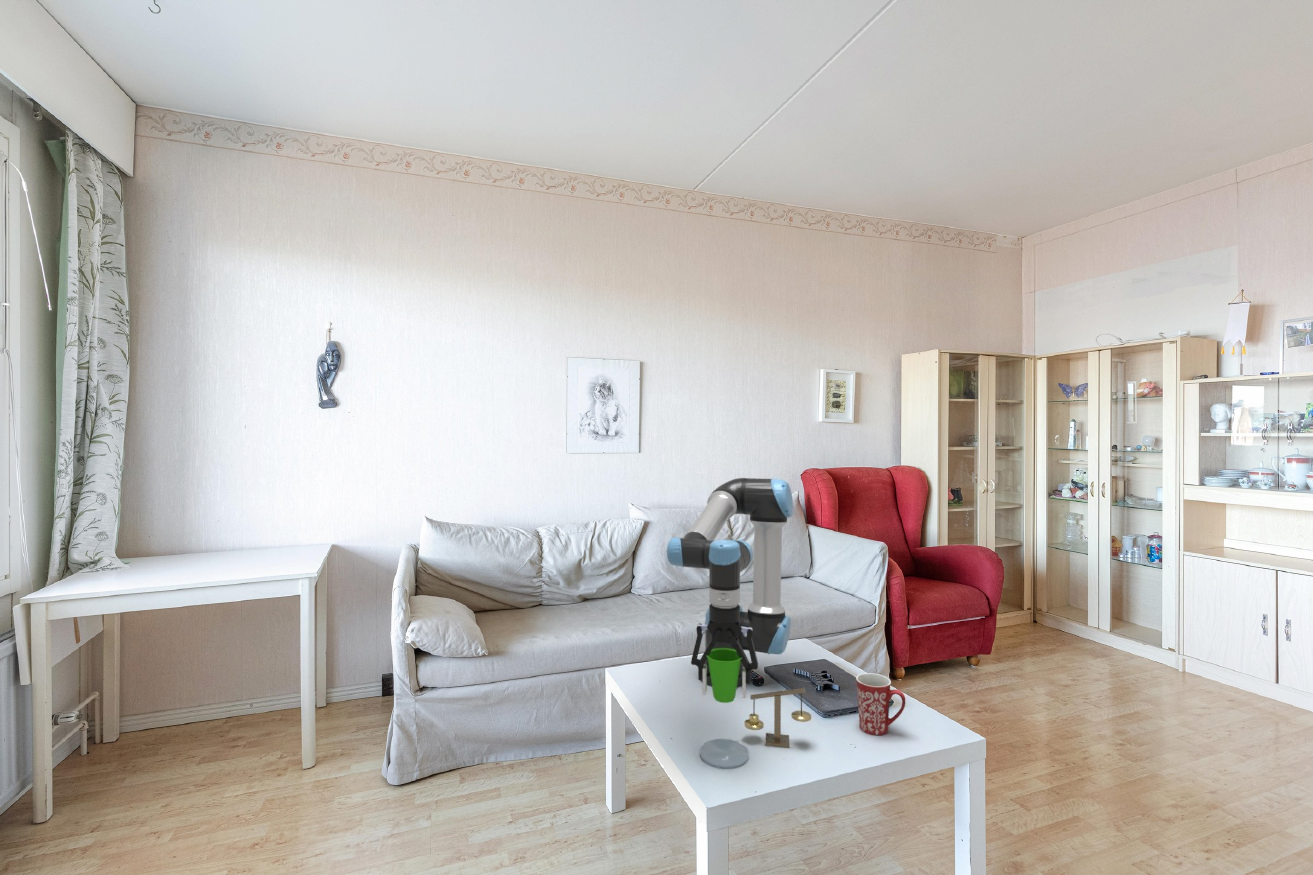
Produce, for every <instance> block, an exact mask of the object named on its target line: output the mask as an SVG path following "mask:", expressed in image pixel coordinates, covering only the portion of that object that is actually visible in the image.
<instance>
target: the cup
mask: <svg viewBox="0 0 1313 875" xmlns="http://www.w3.org/2000/svg"><path fill="white" fill-rule="evenodd" d="M706 656H707V658H708V663H709V669H710V676H711V682H712V686H711V689H712V695H713V698H714V700H715V701H716V702H719V703H722V704H724V703H725V704H727V703H732V702H734V700H735V698H736V694H737V688H738V686H737V682H738V676H739V669H740V663H741V659H742V657H741V658H739V656H738V654H737V652H736V650H734V649H730V648H716V649H712V650H711V652H710V654H709V656H708V655H706Z"/></svg>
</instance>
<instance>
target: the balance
mask: <svg viewBox="0 0 1313 875" xmlns="http://www.w3.org/2000/svg"><path fill="white" fill-rule="evenodd" d="M805 693H806V688H805V687H801V688H795V689H793V688H792V689H787V690H786V689H785V690H778V691H771V692H762V693H755V694H750V700H753V707H752V708H753V712H752V713H750V714H749V718H748V719H746V720H744V724H743V725H744V727H745V728H746V729H748V730H752V731H759V730H760V731H761V730H762V729H764V725H765V724H764V722H763V721H762V720H760V718H759V717H760V716H759V715H758V714H757V713H755V712H756V710H755V706H756V702H755V700H758V699H759V700H760V699H766V698H774V700H773V701H774V704H773V706H774V709H773V710H774V715H773V716H774V722H773V723H774V725H773V726H774V729H773V732H774V733H770V732H765V746H766V747H774V748H775V747H776V748H786V749H790V735H789V734H783V733H781V731H782V730H781V729H782V726H781V723H782V722H781V718H782V712H781V711H782V708H781V705H782V703H781V702H782V699H781V698H782V696H792V695H798V694H800V710H794V711H793V712H791V718H792V719H793V720H795V721H796V722H802V723H805V722H809V721H811V720H812V714H811V713H810V712H807V711H805V710H803V694H805Z"/></svg>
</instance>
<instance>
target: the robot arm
mask: <svg viewBox="0 0 1313 875" xmlns="http://www.w3.org/2000/svg"><path fill="white" fill-rule="evenodd" d="M708 496H709V497H708V498H707V503H706V504H707V505H706V506H705V507H704V509H703V510H702V511H701V513H700V514H699V515H698V517H697V519H695V521H694V522H693V523H692V525H691V527H690V528H689V530H688V531H687V533H686V534H685V535H684V536H683V537H673V538H671V539H670V540H669V541H668V544H667V547H666V556H667V561H668V563H669V564H670V565H672V566H675V567H676V566H677V567H682V568H693V569H705V570H709V572H708V573H709V576H708V577H709V578H708V580H709V585H708V586H709V587H708V588H709V594H708V595H709V596H708V597H709V598H708V599H709V600H708V601H709V603H710V604H709V608H708V609H707V610H706V611H705V622H704V624H702V623H698V624H697V626H696V638H695V643H694V648H693V651H692V652H693V653H692V656H691V661H690V664H691V665H692V666H696V667H697V669H698V670H697V672H698V676H697V677H698V681H701V682H702V696H706V695H707V692H708V686H710V687H712V682H711V676H710V669H709V663H708V658H707V656H706V655H708V656H709V654H710V652H711V650H712V649H716V648H730V649H734V650H736V652H737V654H738V656H739V658H741V657H742V659H741V663H740V669H739V676H738V682H737V687H740V686H742V687H741V688H742V689H741V691H742V695H741V697H742V699H746V697H747V684H748V685H750V684H751V680H752V678H751V673H752V671H753V670H758V668H759V662H758V658H757V657H758V656H757V653H762V654H767V655H782V654H783V653H784V652H785V650H786V648H787V645H788V642H789V638H790V632H791V627H792V626H791V624H792V623H791V621H792V620H791V618H790V617H789V616H788V615H786V608H784V606H782V605H781V604H782V603H781V597H782V596H781V595H782V594H781V593H782V587H781V586H782V547H783V546H782V545H783V543H782V542H783V541H782V540H783V538H782V537H783V527H784V526H785V525H786V524H787V523H788V518H791V517H792V516H793V513H794V512H793V511H794V510H793V509H794V503H793V496H792V490H791V486H790V484H789V483H788V481H786V480H785V479H778V478H757V477H756V478H750V477H738V478H733V479H731V480H729V481H726V482H724V483H722V484H720V486H718V487H716V488H715V489H714V490H713V491H712V492H711V493H710V494H709V495H708ZM734 515H746V516H747V515H748V516H749V522H750V523H751V525H753V527H754V534H753V536H754V537H753V538H754V539H753V549H752V547H751V545H750V544H749V543H748V542H747V541H745V540H743V539H734V540H732V539H719V540H716V538H717V537H718V535H719V533H720V532H721V530H722V529H723V527H724V526H725V524H726V523H727V521H728V520H729V519H731V518H733V516H734ZM752 560H753V573H752V574H753V577H752V578H753V580H752V582H753V584H752V602H751V604H749V605H748V606H747V611H743V608H742V606H741V605H740V602H741V587H740V586H741V572H742V571H743V570H745V569H747V568H748V566H750V564H751V562H752ZM704 635H705V636H704ZM703 636H704V637H705V639H704V640H705V642H704V643H705V645H704V647H705V650H704V652H703V653H702V655H701V657H700V658H698V656H699V652H700V648H701V643H702V641H703V640H702V639H703ZM745 651H748V652H749V656H750V661H751V662H750V661H749V659H748V657H747V654H746V653H745Z"/></svg>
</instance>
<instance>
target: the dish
mask: <svg viewBox="0 0 1313 875" xmlns="http://www.w3.org/2000/svg"><path fill="white" fill-rule="evenodd" d="M749 755H750V753H749V749H748V747H746V745H744V744H742V743H741V742H739V741H737V740H733V739H729V738H715V739H711V740H708V741H705V742H704V743H703V744H702V745H701V746H700V749H699V757H700V758H701V761H702V762H704V763H705V764H707V765H708V766H711V767H712V768H716V769H722V770H724V769H725V770H730V769H731V770H732V769H736V768H739V767H742V766H744V765H746V763H747V762H748V761H749Z"/></svg>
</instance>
